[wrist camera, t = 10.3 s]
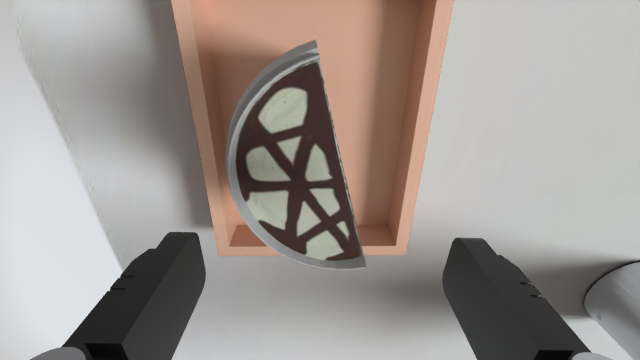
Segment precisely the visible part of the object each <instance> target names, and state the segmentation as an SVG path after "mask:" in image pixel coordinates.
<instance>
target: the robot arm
mask: <svg viewBox="0 0 640 360" xmlns="http://www.w3.org/2000/svg"><path fill="white" fill-rule="evenodd" d="M205 276H206V271H205V265H204V260H203V255H202V250H201V246H200V241H199V237H198V235H197V233H195V232H170V233H168V234H167V235H166V236H165V237H164V239H163V240H162V241H161V243H160V244H159V245H158V247H157V248H156V249H148V250H147V251H146V252H144V253H143V254H141V255H140V256H139V257H137V258H136V259H134V260H133V261H132V262H131V263H130V265H129V266H128V267H127V268H126V269H125V271H124V272H123V273H122V274H121V277H120V278H118V279H117V280H116V282H115V283H114V284H113V285H112V286H111V289H110V291H107V293H106V294H105V295H104V296H103V298H102V299H101V300H100V301H99V302H98V304H97V305H96V306H95V307H94V308H93V310H92V311H91V312H90V313H89V314H88V316H87V317H86V318H85V319H84V321H83V322H82V323H81V324H80V325H79V327H78V328H77V329H76V330H75V332H74V333H73V334H72V335H71V336H70V338H69V339H68V340H67V342H65V344H64V345H63V346H62V347H61V348H56V349H53V350H49V351H47V352H44V353H42V354H40V355H38V356H36V357H34V358H32V359H30V360H171V359H172V357H173V355H174V352H175V350H176V348H177V346H178V344H179V341H180V339H181V337H182V335H183V332H184V330H185V328H186V326H187V324H188V321H189V319H190V317H191V315H192V313H193V310H194V308H195V306H196V304H197V301H198V299H199V297H200V295H201V293H202V290H203V287H204V284H205ZM443 288H444V292H445V295H446V297H447V299H448V301H449V303H450V305H451V307H452V309H453V311H454V313H455V315H456V317H457V319H458V321H459V323H460V325H461V327H462V329H463V331H464V333H465V335H466V337H467V339H468V342H469V344H470V346H471V348H472V350H473V352H474V354H475V356H476V358H477V360H612V359H610V358H608V357H605V356H602V355H599V354H595V353H592V352H591V351H590V350H589V349H588V348H587V347H586V346H585V344H584V343H583V342H582V341H581V340H580V339H579V338H578V336H577V335H576V334H575V333H574V332H573V331H572V329H571V328H570V327H569V326H568V325H567V324H566V322H565V321H564V320H563V319H562V318H561V317H560V315H559V314H558V313H557V312H556V311H555V310H554V308H553V307H552V306H551V305H550V304H549V303H548V302H547V300H546V299H545V298H542V295H541V293H540V292H539V291H538V290H537V289H536V288H535V286H532V285H531V282H530V281H529V279H528V278H527V277H526V276H525V275H524V274H523V272H522V271H521V270H520V269H519V268H518V267H517V266H515V265H514V264H512V263H511V262H510V261H508V260H507V259H505V258H504V257H503V256H501V255H497V254H496V253H495V252H494V251H493V250H492V248H491V247H490V246H489V245H488V243H487V242H486V241H485V240H484V239H482V238H455V239H454V240H453V242H452V245H451V249H450V252H449V255H448V259H447V262H446V266H445V269H444V272H443ZM584 306H585V310H586V311H587V312H588V314H589V315H590V316H591V317H592V318H593V319H594V320H595V321H596V322H597V323H598V324H599V325H600V326H601V327H602V328H603V329H604V330H605V331H606V332H607V333H608V334H609V335H610V336H611V337H612V338H613V339H614V340H615V341H616V342H617V343H618V344H619V345H620V346H621V347H622V348H623V349H624V350H625V351H626V352H627V353H628V354H629V355H630V356H631V357H632V358H633V359H634V360H640V262H638V263H633V264H629V265H626V266H623V267H621V268H618V269H616V270H614V271H612V272H610V273H609V274H607V275H605V276H604V277H603V278H601V279H600V280H598V281H597V282H596V283H595V284H594V285H593V286H592V288H591V289H590V290H589V292H588V293H587V295H586V297H585V302H584Z"/></svg>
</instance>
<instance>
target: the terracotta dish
mask: <svg viewBox="0 0 640 360" xmlns="http://www.w3.org/2000/svg"><path fill="white" fill-rule="evenodd" d="M171 2H172V7H173V13H174V18H175V24H176V29H177V34H178V40H179V45H180V50H181V56H182V61H183V67H184V72H185V77H186V83H187V88H188V93H189V99H190V104H191V110H192V115H193V120H194V126H195V131H196V136H197V142H198V147H199V153H200V158H201V163H202V169H203V174H204V180H205V185H206V190H207V196H208V201H209V206H210V212H211V217H212V223H213V228H214V233H215V239H216V244H217V249H218V255H219V256H283V255H281V254H279V253H277V252H276V251H274V250H273V249H272V248H270V247H269V246H267V245H266V244H265V243H264V242H262V241H261V240H260V239H259V238H258V237H257V236H256V235H255V234H254V233H253V232H252V230H251V229H250V228H249V226H248V225H247V224H246V223H245V221H244V220H243V218H242V216H241V214H240V212H239V211H238V209H237V207H236V204H235V202H234V200H233V197H232V194H231V191H230V188H229V185H228V180H227V174H226V167H225V164H226V144H227V138H228V133H229V128H230V122H231V119H232V117H233V114H234V111H235V109H236V106H237V104H238V102H239V100H240V98H241V97H242V95H243V93H244V92H245V90H246V88H247V87H248V86H249V84H250V83H251V82H252V81H253V80H254V79H255V77H256V76H257V75H258V74H259V73H260V72H261V71H262V70H263V69H264V68H265V67H266V66H268V65H269V64H270V63H271V62H272V61H274V60H275V59H276V58H277V57H279V56H281V55H283V54H284V53H286V52H288V51H290V50H291V49H293V48H295V47H297V46H299V45H302V44H305V43H307V42H310V41H313V40H315V39H316V43H317V47H318V51H319V55H320V64H321V69H322V73H323V78H324V82H325V87H326V91H327V96H328V100H329V105H330V109H331V114H332V118H333V123H334V127H335V132H336V136H337V141H338V145H339V150H340V154H341V158H342V163H343V167H344V172H345V176H346V181H347V185H348V189H349V194H350V198H351V202H352V207H353V211H354V216H355V220H356V224H357V229H358V233H359V237H360V242H361V246H362V250H363V255H406V252H407V246H408V241H409V236H410V230H411V225H412V220H413V215H414V209H415V204H416V199H417V193H418V188H419V183H420V178H421V172H422V167H423V162H424V157H425V151H426V146H427V141H428V135H429V130H430V125H431V120H432V114H433V109H434V104H435V99H436V93H437V88H438V83H439V77H440V72H441V67H442V62H443V56H444V51H445V46H446V40H447V35H448V30H449V25H450V19H451V14H452V9H453V4H454V0H171Z"/></svg>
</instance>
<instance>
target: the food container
mask: <svg viewBox="0 0 640 360" xmlns="http://www.w3.org/2000/svg"><path fill="white" fill-rule="evenodd" d="M225 167H226V174H227V180H228V185H229V188H230V191H231V194H232V197H233V200H234V202H235V204H236V207H237V209H238V211H239V212H240V214H241V216H242V218H243V220H244V221H245V223H246V224H247V225H248V226H249V228H250V229H251V230H252V232H253V233H254V234H255V235H256V236H257V237H258V238H259V239H260V240H261V241H262V242H264V243H265V244H266V245H267V246H269V247H270V248H272V249H273V250H274V251H276V252H277V253H279V254H281V255H283V256H285V257H287V258H288V259H290V260H293V261H296V262H298V263H301V264H304V265H307V266H311V267H316V268H320V269H329V270H356V269H363V268H366V263H365V259H364V255H363V250H362V246H361V242H360V237H359V233H358V229H357V224H356V220H355V216H354V211H353V207H352V202H351V198H350V194H349V189H348V185H347V181H346V176H345V172H344V167H343V163H342V158H341V154H340V150H339V145H338V141H337V136H336V132H335V127H334V123H333V118H332V114H331V109H330V105H329V100H328V96H327V91H326V87H325V82H324V78H323V73H322V69H321V64H320V55H319V51H318V47H317V43H316V39H315V40H313V41H310V42H307V43H305V44H302V45H299V46H297V47H295V48H293V49H291V50H290V51H288V52H286V53H284V54H283V55H281V56H279V57H277V58H276V59H275V60H274V61H272V62H271V63H270V64H269V65H268V66H266V67H265V68H264V69H263V70H262V71H261V72H260V73H259V74H258V75H257V76H256V77H255V79H254V80H253V81H252V82H251V83H250V84H249V86H248V87H247V88H246V90H245V92H244V93H243V95H242V97H241V98H240V100H239V102H238V104H237V106H236V109H235V111H234V114H233V117H232V119H231V122H230V128H229V133H228V138H227V144H226V164H225Z"/></svg>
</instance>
